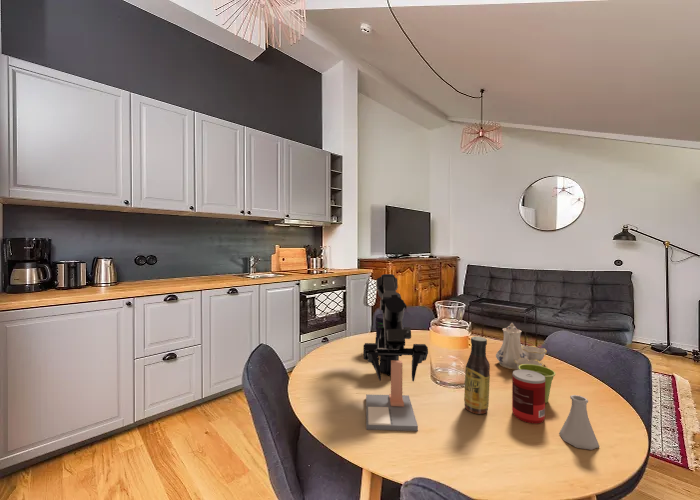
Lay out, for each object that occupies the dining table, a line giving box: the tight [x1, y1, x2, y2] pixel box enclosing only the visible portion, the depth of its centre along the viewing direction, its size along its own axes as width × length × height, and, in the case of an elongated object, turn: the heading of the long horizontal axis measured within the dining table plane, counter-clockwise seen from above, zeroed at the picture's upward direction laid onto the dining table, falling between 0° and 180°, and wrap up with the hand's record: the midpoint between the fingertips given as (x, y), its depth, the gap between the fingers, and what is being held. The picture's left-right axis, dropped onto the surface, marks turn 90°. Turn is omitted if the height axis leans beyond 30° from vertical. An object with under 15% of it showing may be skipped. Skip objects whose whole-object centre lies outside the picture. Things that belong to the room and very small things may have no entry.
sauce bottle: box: [463, 336, 491, 415], centre depth 88 cm, size 7×6×20 cm
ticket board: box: [365, 394, 419, 432], centre depth 86 cm, size 16×12×2 cm
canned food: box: [511, 370, 546, 425], centre depth 85 cm, size 8×8×11 cm
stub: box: [388, 360, 404, 407], centre depth 90 cm, size 6×4×11 cm, turn 177°
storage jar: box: [374, 313, 383, 348], centre depth 138 cm, size 10×10×15 cm
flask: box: [558, 394, 600, 451], centre depth 74 cm, size 7×7×10 cm
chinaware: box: [495, 322, 548, 371], centre depth 119 cm, size 28×17×17 cm, turn 150°
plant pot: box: [518, 364, 556, 404], centre depth 95 cm, size 9×9×9 cm
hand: (396, 380), depth 90 cm, fingers open, 9 cm apart
